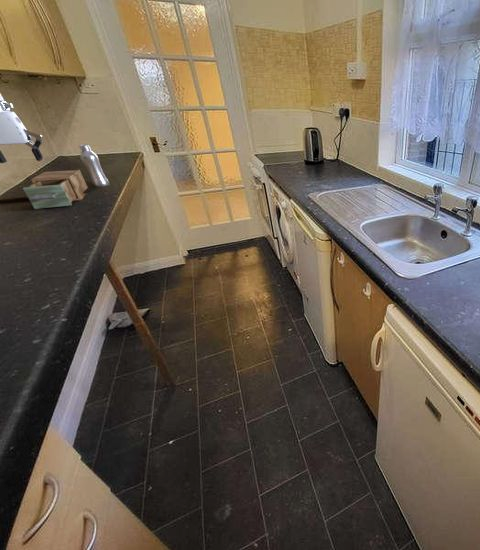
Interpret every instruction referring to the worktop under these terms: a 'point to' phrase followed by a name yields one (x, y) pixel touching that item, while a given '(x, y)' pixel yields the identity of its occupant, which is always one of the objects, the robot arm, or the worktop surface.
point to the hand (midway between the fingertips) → (22, 161)
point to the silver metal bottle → (93, 166)
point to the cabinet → (72, 175)
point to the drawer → (50, 193)
